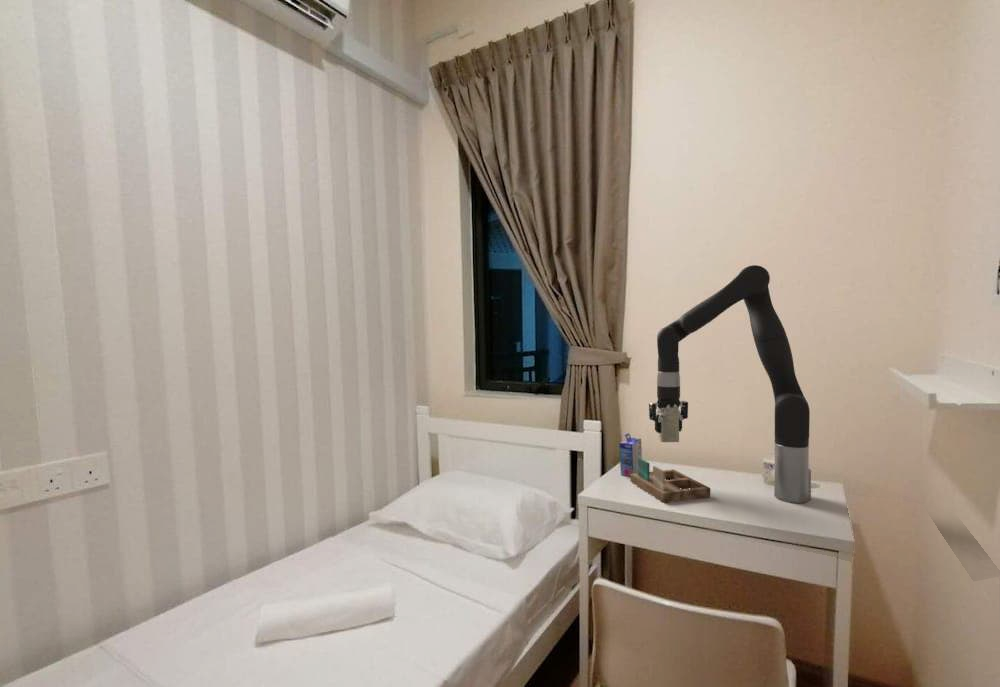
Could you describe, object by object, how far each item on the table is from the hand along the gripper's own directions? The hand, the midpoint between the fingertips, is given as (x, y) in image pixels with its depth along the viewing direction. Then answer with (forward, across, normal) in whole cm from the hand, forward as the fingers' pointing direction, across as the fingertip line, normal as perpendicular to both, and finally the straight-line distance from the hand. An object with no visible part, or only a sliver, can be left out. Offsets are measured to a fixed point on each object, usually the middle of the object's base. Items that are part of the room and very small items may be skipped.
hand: (668, 431), depth 169 cm
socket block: (+18, -3, -5) cm, 19 cm away
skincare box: (+3, 0, 0) cm, 3 cm away
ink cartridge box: (+19, -6, +15) cm, 25 cm away
